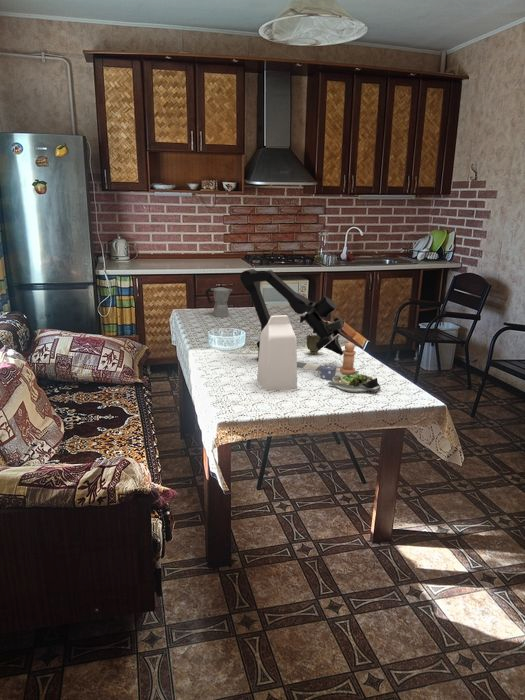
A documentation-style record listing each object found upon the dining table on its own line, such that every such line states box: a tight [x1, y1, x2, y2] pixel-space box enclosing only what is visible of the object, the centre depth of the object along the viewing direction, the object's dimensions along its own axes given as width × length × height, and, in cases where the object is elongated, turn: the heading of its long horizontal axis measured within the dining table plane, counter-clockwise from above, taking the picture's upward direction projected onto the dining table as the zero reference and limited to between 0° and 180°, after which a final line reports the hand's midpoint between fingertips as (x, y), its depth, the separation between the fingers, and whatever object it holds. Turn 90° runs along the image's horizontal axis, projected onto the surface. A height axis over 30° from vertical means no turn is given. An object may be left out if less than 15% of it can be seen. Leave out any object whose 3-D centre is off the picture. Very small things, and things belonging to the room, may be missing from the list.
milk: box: [256, 314, 298, 391], centre depth 197 cm, size 12×12×26 cm
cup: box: [305, 334, 320, 356], centre depth 238 cm, size 8×7×8 cm
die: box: [320, 364, 337, 381], centre depth 208 cm, size 4×5×5 cm
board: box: [297, 361, 360, 375], centre depth 219 cm, size 28×7×1 cm, turn 68°
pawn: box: [339, 342, 357, 375], centre depth 214 cm, size 6×6×12 cm
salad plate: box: [327, 373, 381, 393], centre depth 201 cm, size 19×18×5 cm
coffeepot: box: [204, 283, 233, 318], centre depth 302 cm, size 15×9×18 cm, turn 103°
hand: (342, 354), depth 214 cm, fingers closed
